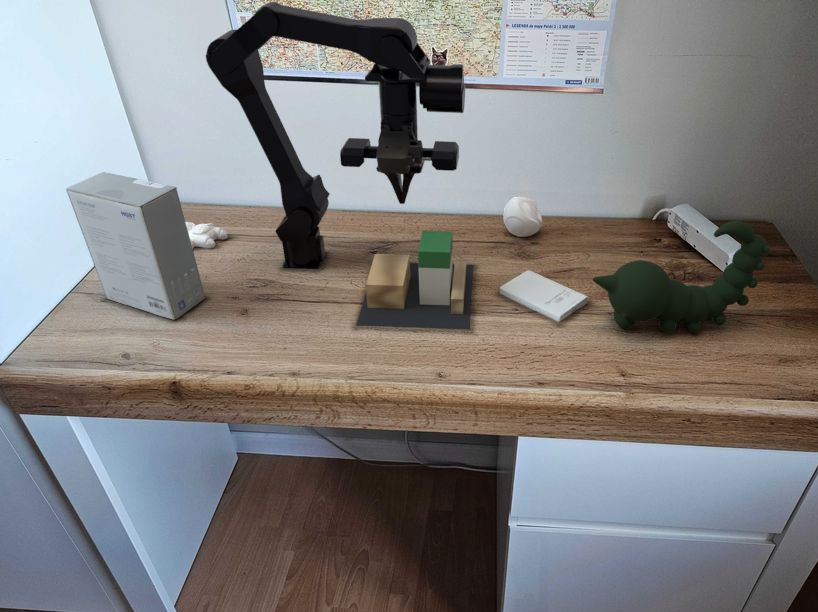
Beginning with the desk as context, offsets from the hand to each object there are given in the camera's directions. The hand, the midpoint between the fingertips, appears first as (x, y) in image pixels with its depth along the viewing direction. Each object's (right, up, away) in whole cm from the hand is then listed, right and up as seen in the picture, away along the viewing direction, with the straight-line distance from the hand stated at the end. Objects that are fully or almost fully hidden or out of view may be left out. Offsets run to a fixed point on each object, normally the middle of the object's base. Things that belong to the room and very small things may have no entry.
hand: (402, 202), depth 113 cm
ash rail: (+10, -16, -1) cm, 18 cm away
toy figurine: (+42, -21, -6) cm, 48 cm away
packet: (+3, -15, 0) cm, 16 cm away
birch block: (-2, -15, 0) cm, 15 cm away
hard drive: (+24, -17, -1) cm, 29 cm away
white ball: (+22, -3, +18) cm, 28 cm away
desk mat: (+3, -16, 0) cm, 16 cm away
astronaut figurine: (-41, -4, +16) cm, 44 cm away
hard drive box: (-41, -17, -1) cm, 45 cm away
